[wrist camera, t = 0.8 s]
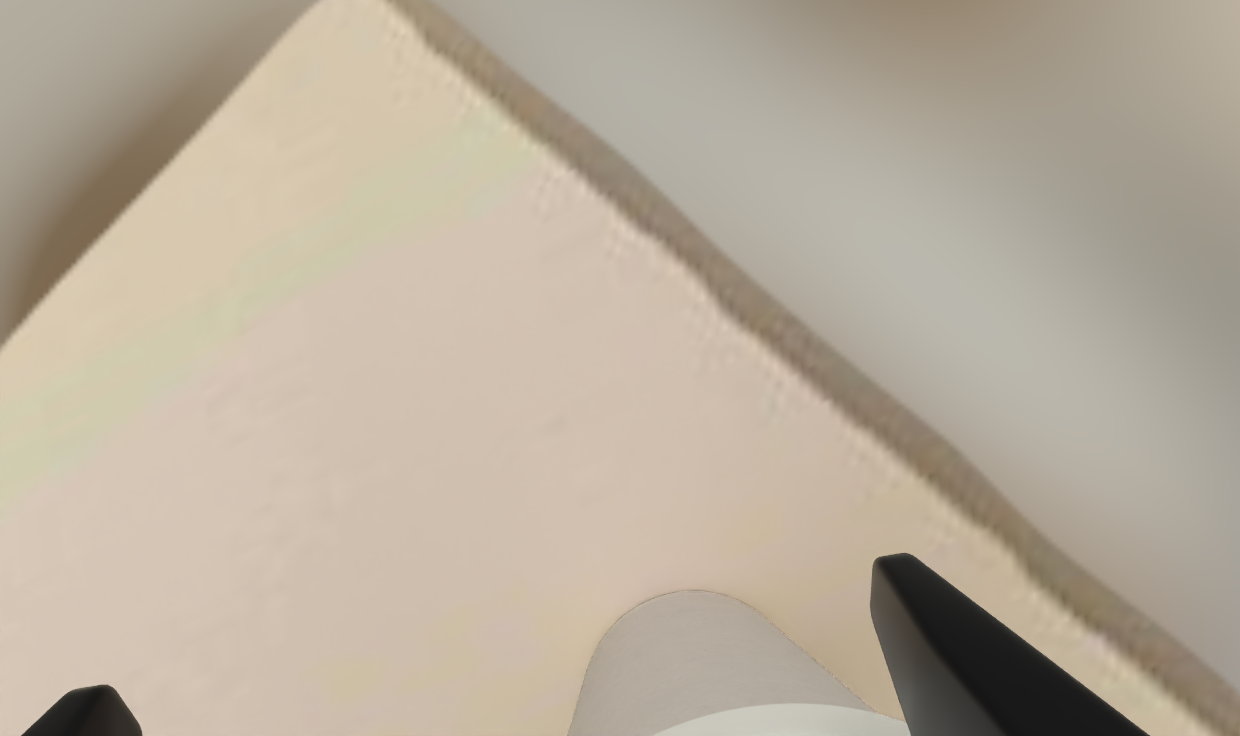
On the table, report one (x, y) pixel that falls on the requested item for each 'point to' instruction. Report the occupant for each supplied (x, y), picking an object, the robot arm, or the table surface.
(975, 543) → the table surface
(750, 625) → the coffee cup
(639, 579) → the table surface
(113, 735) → the robot arm
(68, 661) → the table surface
